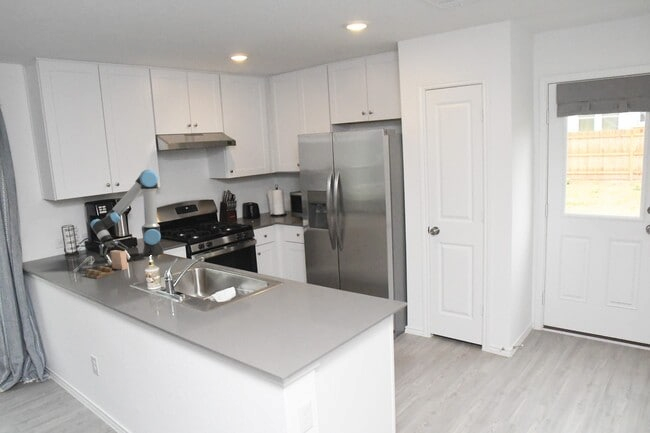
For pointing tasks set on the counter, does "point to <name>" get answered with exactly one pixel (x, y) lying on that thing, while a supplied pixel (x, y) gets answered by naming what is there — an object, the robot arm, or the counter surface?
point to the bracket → (85, 262)
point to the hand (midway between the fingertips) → (120, 260)
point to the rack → (99, 272)
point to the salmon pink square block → (119, 259)
